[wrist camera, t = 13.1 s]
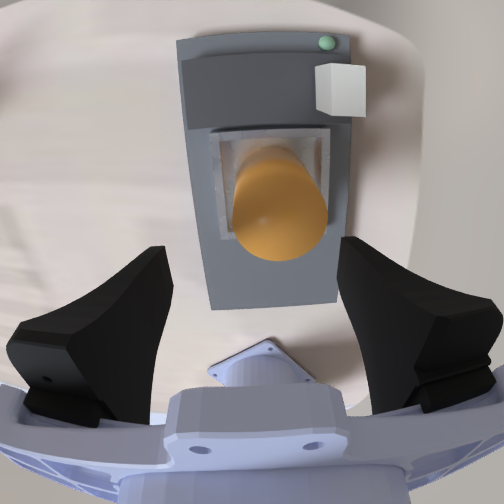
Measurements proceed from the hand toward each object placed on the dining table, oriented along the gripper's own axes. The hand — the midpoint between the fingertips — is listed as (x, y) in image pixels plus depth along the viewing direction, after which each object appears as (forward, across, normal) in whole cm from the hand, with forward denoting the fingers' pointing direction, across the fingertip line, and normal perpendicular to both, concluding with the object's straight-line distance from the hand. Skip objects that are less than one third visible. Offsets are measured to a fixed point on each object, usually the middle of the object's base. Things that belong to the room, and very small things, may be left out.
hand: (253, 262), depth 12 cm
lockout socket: (+8, -1, -1) cm, 8 cm away
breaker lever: (+6, -4, -7) cm, 10 cm away
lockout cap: (+8, -1, -1) cm, 8 cm away
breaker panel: (+9, -1, 0) cm, 9 cm away
